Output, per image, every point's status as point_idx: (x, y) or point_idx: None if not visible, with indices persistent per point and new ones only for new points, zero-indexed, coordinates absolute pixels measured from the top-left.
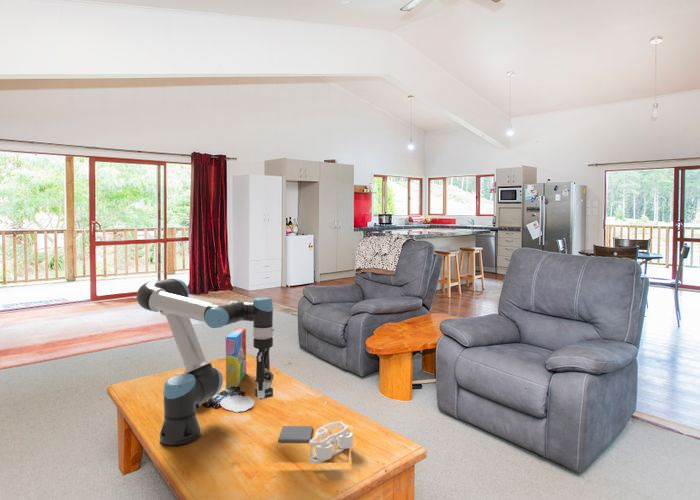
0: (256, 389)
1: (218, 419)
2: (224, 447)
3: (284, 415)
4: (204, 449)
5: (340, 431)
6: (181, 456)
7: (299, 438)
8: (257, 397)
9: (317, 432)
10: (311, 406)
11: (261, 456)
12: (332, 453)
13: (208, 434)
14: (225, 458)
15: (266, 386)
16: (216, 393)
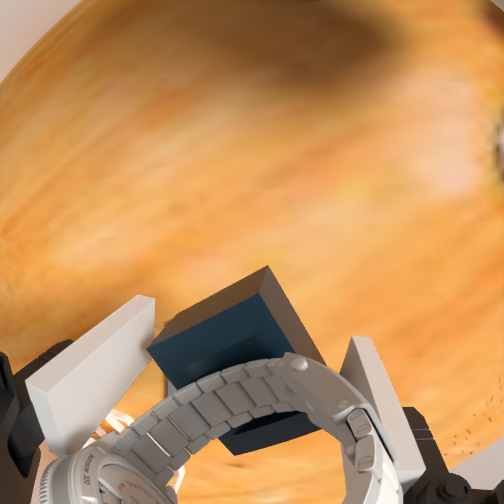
0: (227, 308)
1: (434, 59)
2: (151, 109)
3: (429, 343)
4: (151, 45)
5: (172, 487)
6: (123, 3)
7: (175, 391)
8: (134, 299)
9: (87, 445)
10: (460, 421)
11: (79, 257)
12: (101, 435)
13: (284, 26)
14: (78, 136)
15: (132, 436)
16: (496, 5)
